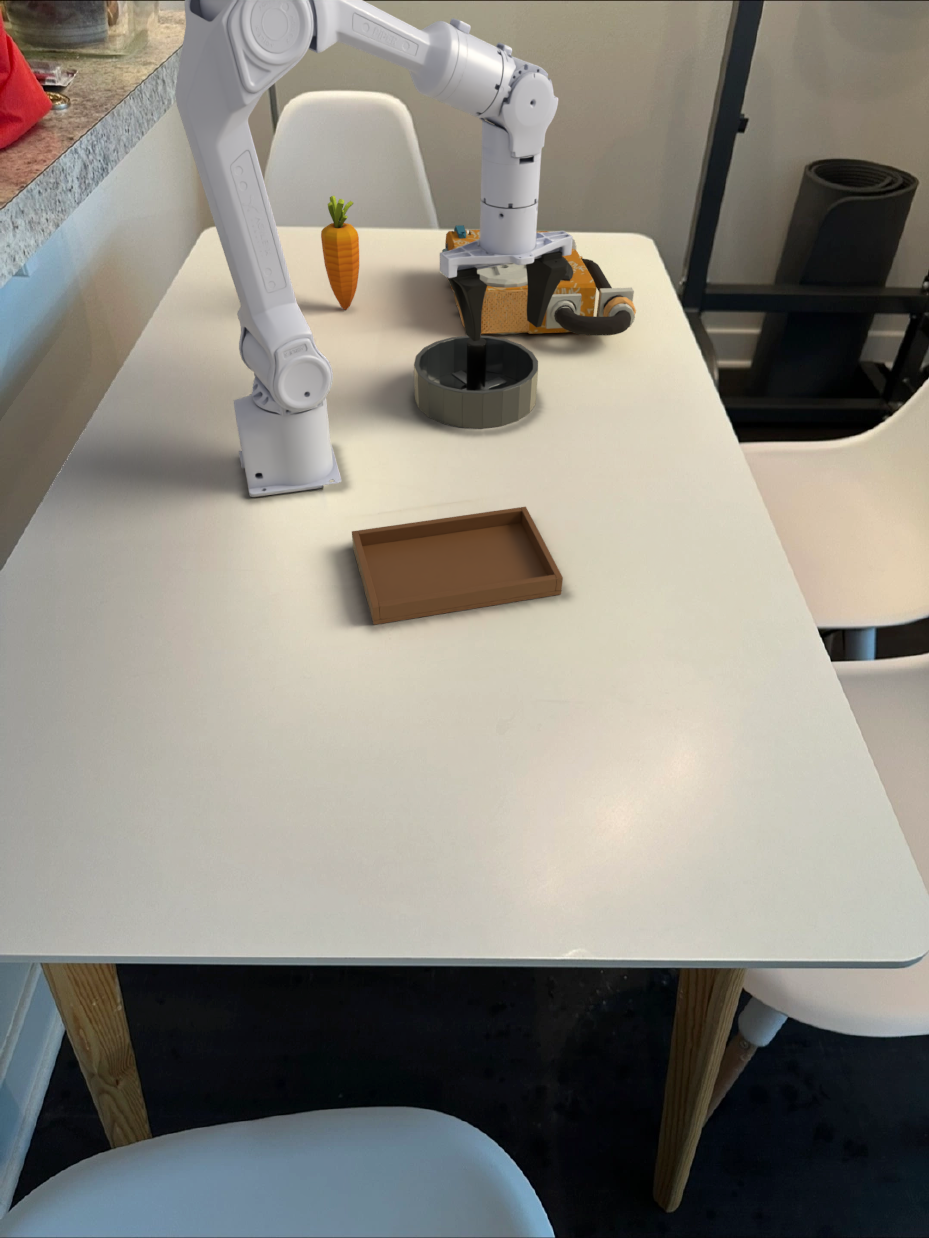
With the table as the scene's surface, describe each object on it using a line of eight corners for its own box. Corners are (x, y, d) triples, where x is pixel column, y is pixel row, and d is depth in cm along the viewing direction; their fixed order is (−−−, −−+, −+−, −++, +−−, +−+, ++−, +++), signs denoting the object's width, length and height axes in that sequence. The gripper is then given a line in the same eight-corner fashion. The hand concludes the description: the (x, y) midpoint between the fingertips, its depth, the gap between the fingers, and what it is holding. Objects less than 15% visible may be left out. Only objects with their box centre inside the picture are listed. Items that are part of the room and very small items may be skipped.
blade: (450, 418, 104) (450, 361, 100) (435, 385, 110) (434, 329, 105) (517, 410, 106) (520, 353, 101) (498, 377, 111) (500, 323, 107)
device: (594, 212, 133) (649, 295, 111) (588, 268, 139) (640, 359, 117) (439, 216, 131) (465, 303, 109) (440, 274, 136) (464, 367, 114)
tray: (373, 625, 79) (372, 607, 78) (353, 547, 87) (351, 531, 86) (561, 594, 83) (563, 577, 81) (524, 522, 91) (525, 506, 89)
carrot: (330, 301, 129) (320, 189, 119) (365, 302, 129) (358, 190, 119) (325, 316, 125) (314, 202, 115) (361, 317, 125) (353, 203, 115)
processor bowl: (430, 440, 102) (429, 399, 98) (404, 380, 112) (403, 342, 109) (551, 424, 105) (554, 385, 101) (515, 368, 115) (517, 330, 111)
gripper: (462, 223, 85) (461, 359, 94) (593, 201, 90) (580, 332, 99) (429, 200, 90) (431, 331, 99) (556, 180, 95) (546, 307, 104)
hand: (504, 330), depth 99 cm, fingers open, 7 cm apart
